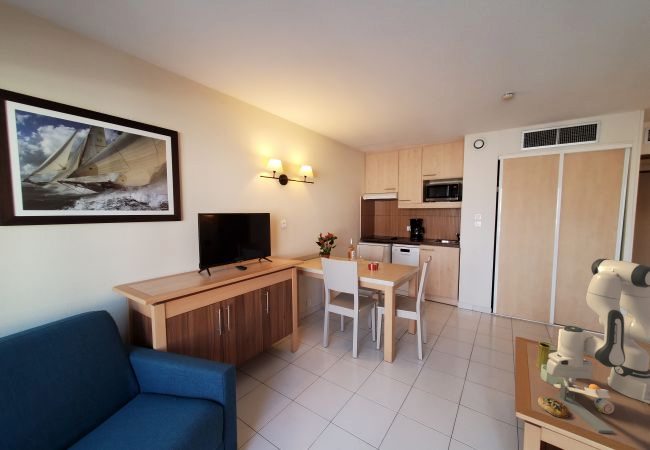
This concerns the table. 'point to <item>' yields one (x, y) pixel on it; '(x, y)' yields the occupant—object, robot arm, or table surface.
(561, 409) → the bread roll
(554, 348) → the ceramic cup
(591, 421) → the catapult base
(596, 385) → the ball
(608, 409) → the roller toy
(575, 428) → the table surface
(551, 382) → the cup
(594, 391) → the lever
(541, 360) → the vase
